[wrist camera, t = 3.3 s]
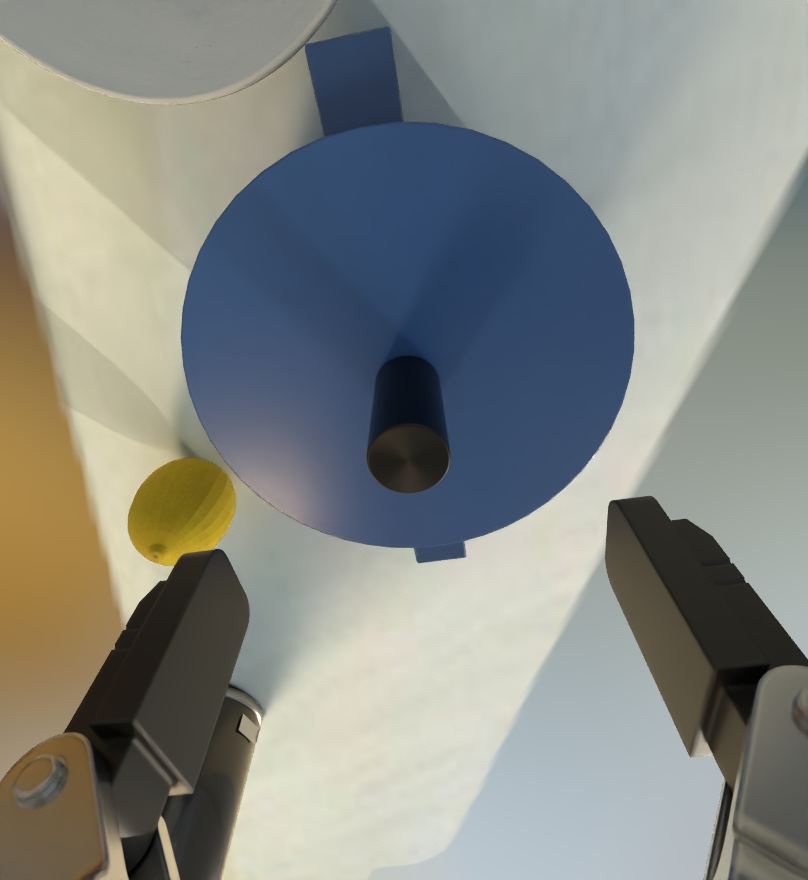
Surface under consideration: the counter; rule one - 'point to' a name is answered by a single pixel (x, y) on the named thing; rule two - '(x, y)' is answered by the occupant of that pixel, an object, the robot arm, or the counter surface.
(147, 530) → the lemon
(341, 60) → the pot
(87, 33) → the chinaware
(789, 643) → the robot arm
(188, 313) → the lid
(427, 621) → the counter surface
